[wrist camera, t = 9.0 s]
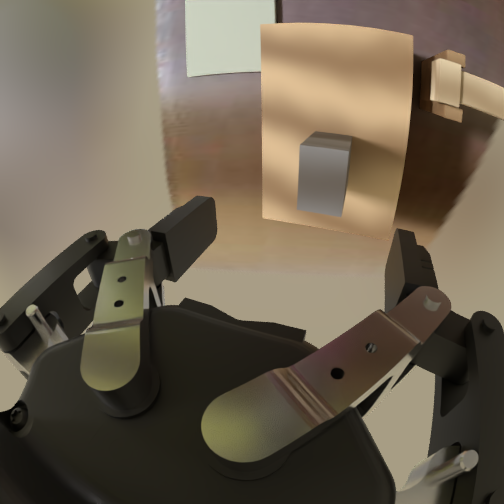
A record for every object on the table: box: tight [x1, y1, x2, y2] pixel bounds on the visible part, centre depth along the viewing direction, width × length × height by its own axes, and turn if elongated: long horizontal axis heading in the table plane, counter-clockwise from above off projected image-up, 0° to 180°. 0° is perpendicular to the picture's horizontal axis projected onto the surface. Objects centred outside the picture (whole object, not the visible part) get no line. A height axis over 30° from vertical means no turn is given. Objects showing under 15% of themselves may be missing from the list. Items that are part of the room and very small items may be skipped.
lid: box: [260, 23, 413, 241], centre depth 18 cm, size 18×12×7 cm, turn 1°
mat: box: [185, 0, 277, 77], centre depth 23 cm, size 16×11×1 cm
